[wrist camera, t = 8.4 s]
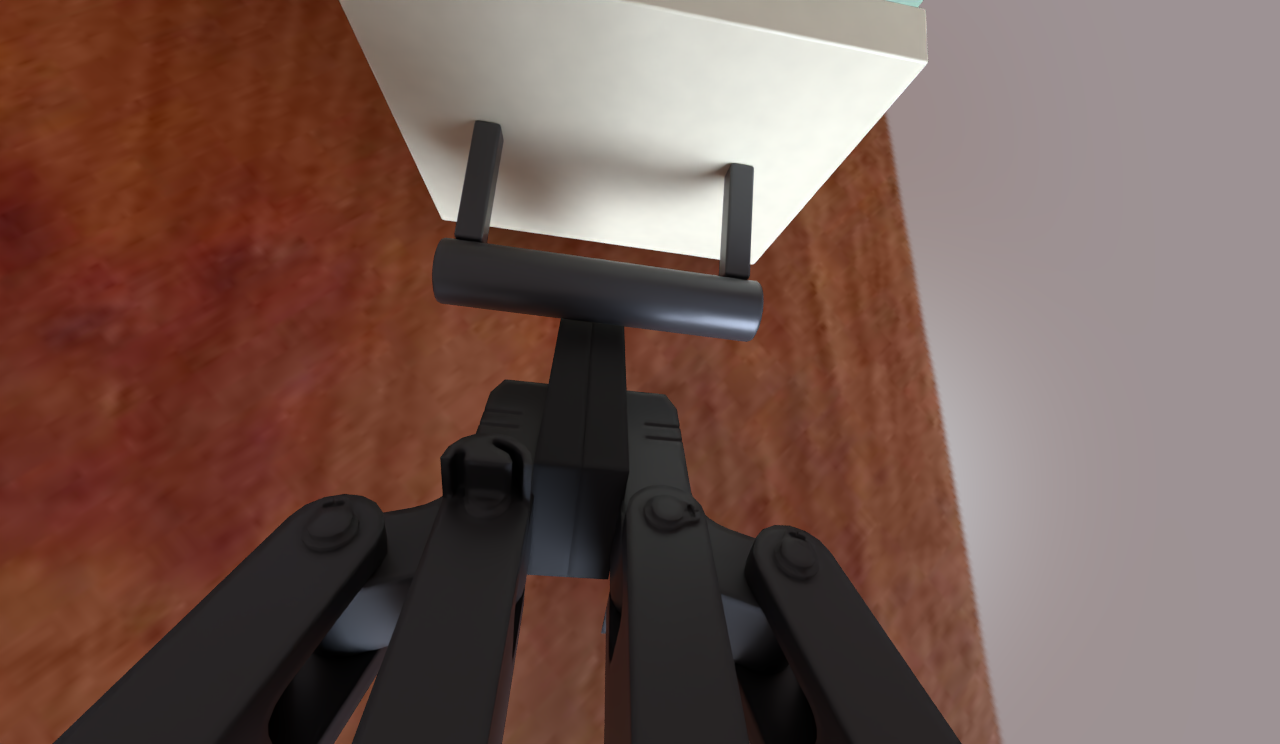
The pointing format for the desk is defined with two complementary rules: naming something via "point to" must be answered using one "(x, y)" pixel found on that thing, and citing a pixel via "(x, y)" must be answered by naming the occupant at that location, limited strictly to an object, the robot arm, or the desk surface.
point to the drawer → (630, 138)
